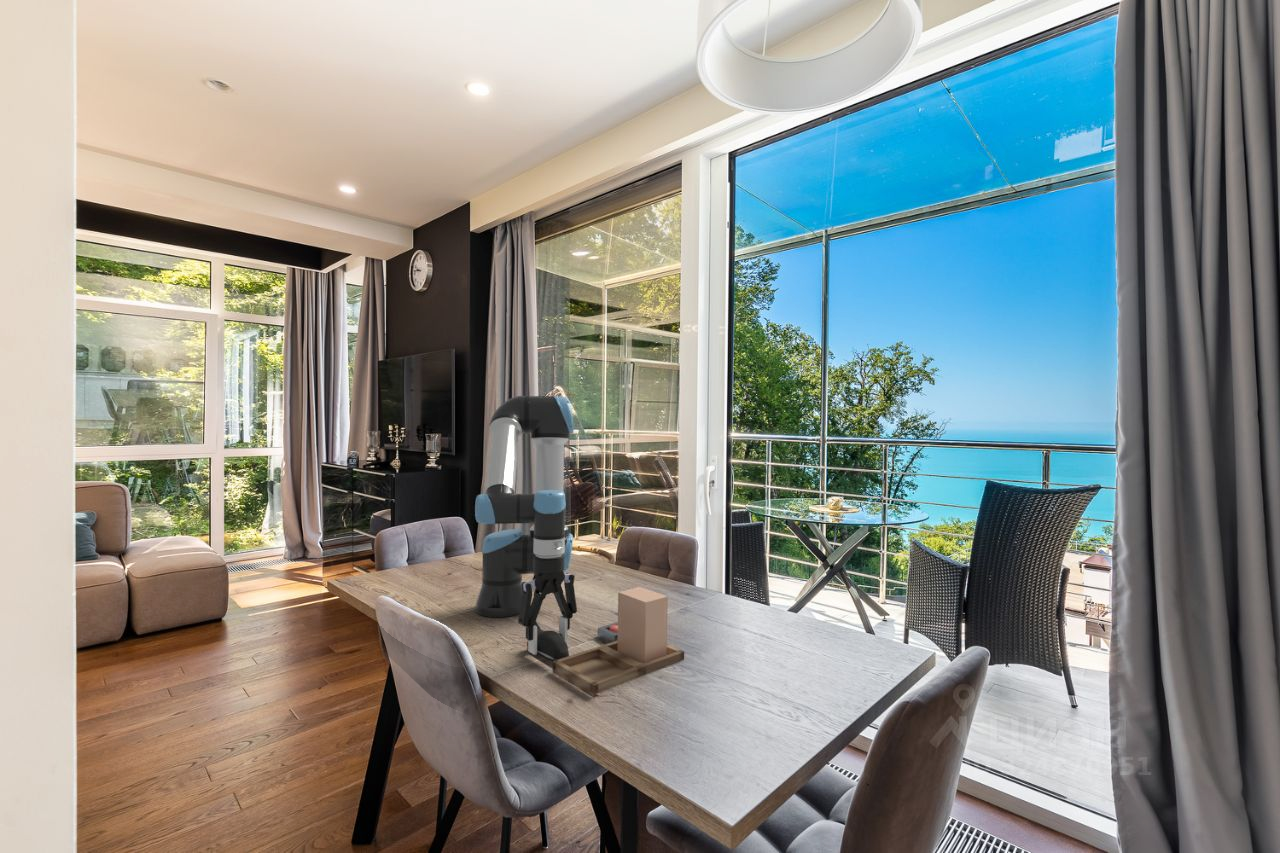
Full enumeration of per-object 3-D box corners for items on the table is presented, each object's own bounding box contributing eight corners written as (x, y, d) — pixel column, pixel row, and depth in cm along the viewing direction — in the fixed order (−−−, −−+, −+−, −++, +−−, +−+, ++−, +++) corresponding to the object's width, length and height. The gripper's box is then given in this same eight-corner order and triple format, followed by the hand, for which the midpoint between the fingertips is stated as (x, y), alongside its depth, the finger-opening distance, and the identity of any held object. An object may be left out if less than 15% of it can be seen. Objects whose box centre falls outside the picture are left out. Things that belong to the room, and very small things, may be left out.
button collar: (597, 640, 151) (597, 627, 151) (618, 633, 156) (618, 621, 156) (614, 648, 146) (614, 635, 146) (635, 641, 150) (635, 629, 150)
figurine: (520, 663, 142) (553, 673, 131) (517, 622, 144) (549, 627, 132) (546, 655, 147) (580, 664, 136) (543, 615, 149) (576, 620, 137)
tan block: (617, 653, 141) (618, 592, 140) (639, 646, 145) (639, 586, 145) (644, 667, 133) (645, 602, 133) (666, 659, 138) (667, 596, 138)
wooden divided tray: (552, 672, 132) (552, 661, 132) (641, 643, 149) (641, 633, 149) (593, 697, 120) (593, 685, 120) (684, 662, 138) (684, 651, 138)
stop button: (606, 638, 151) (606, 627, 151) (617, 635, 153) (617, 624, 153) (615, 642, 148) (615, 631, 148) (626, 639, 151) (626, 627, 151)
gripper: (518, 564, 130) (517, 664, 131) (592, 551, 144) (591, 642, 144) (502, 558, 136) (501, 654, 136) (575, 546, 150) (574, 633, 150)
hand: (548, 647), depth 140 cm, fingers open, 8 cm apart
